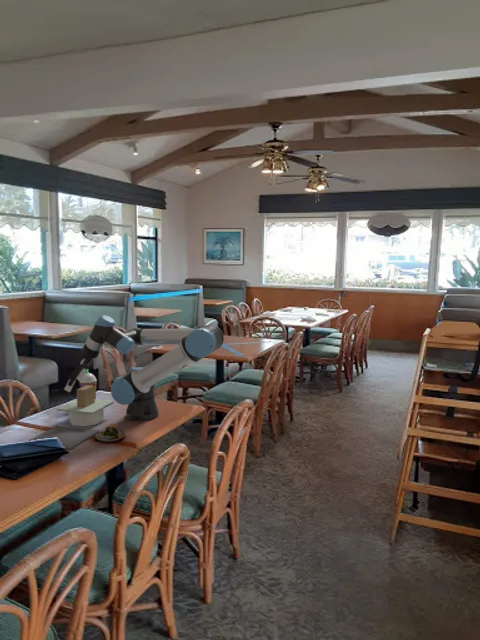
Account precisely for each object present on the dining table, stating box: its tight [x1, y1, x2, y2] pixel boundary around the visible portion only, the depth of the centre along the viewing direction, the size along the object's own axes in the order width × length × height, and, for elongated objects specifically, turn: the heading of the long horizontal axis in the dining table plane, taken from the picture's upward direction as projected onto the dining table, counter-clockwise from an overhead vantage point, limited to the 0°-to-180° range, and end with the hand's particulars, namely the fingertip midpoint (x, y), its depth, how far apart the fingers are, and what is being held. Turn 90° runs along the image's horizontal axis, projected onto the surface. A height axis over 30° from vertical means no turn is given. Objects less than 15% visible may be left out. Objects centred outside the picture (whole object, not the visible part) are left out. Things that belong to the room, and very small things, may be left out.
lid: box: [56, 385, 115, 415], centre depth 219 cm, size 18×18×9 cm
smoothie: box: [78, 369, 98, 399], centre depth 240 cm, size 8×8×20 cm
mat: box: [27, 425, 101, 451], centre depth 198 cm, size 21×21×1 cm
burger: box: [94, 423, 126, 443], centre depth 198 cm, size 12×12×8 cm
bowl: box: [68, 409, 105, 427], centre depth 220 cm, size 14×14×6 cm
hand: (72, 385), depth 220 cm, fingers open, 13 cm apart
